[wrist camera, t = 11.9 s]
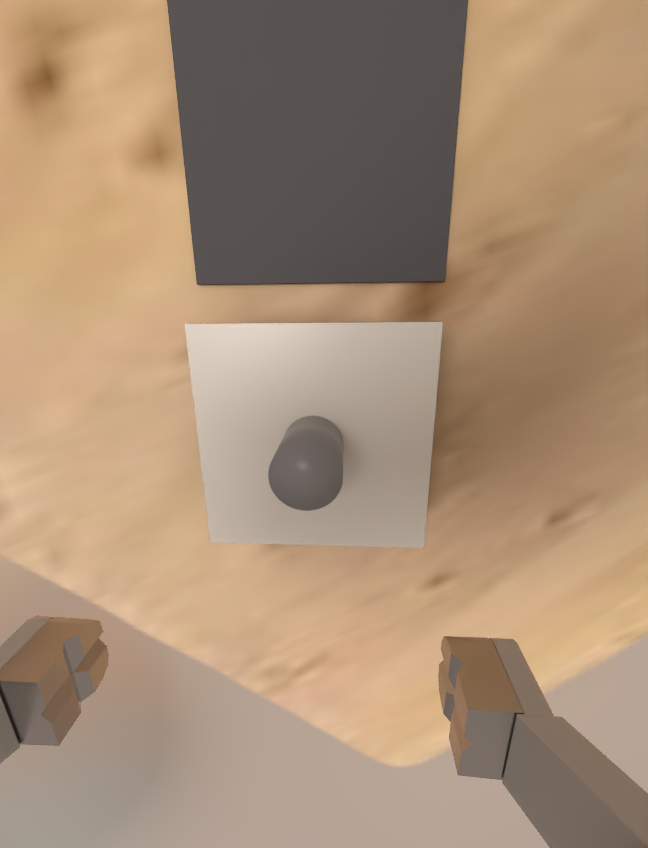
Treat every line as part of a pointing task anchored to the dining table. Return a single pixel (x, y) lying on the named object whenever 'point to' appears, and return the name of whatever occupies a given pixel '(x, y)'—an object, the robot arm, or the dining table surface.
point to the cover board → (325, 384)
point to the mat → (318, 137)
